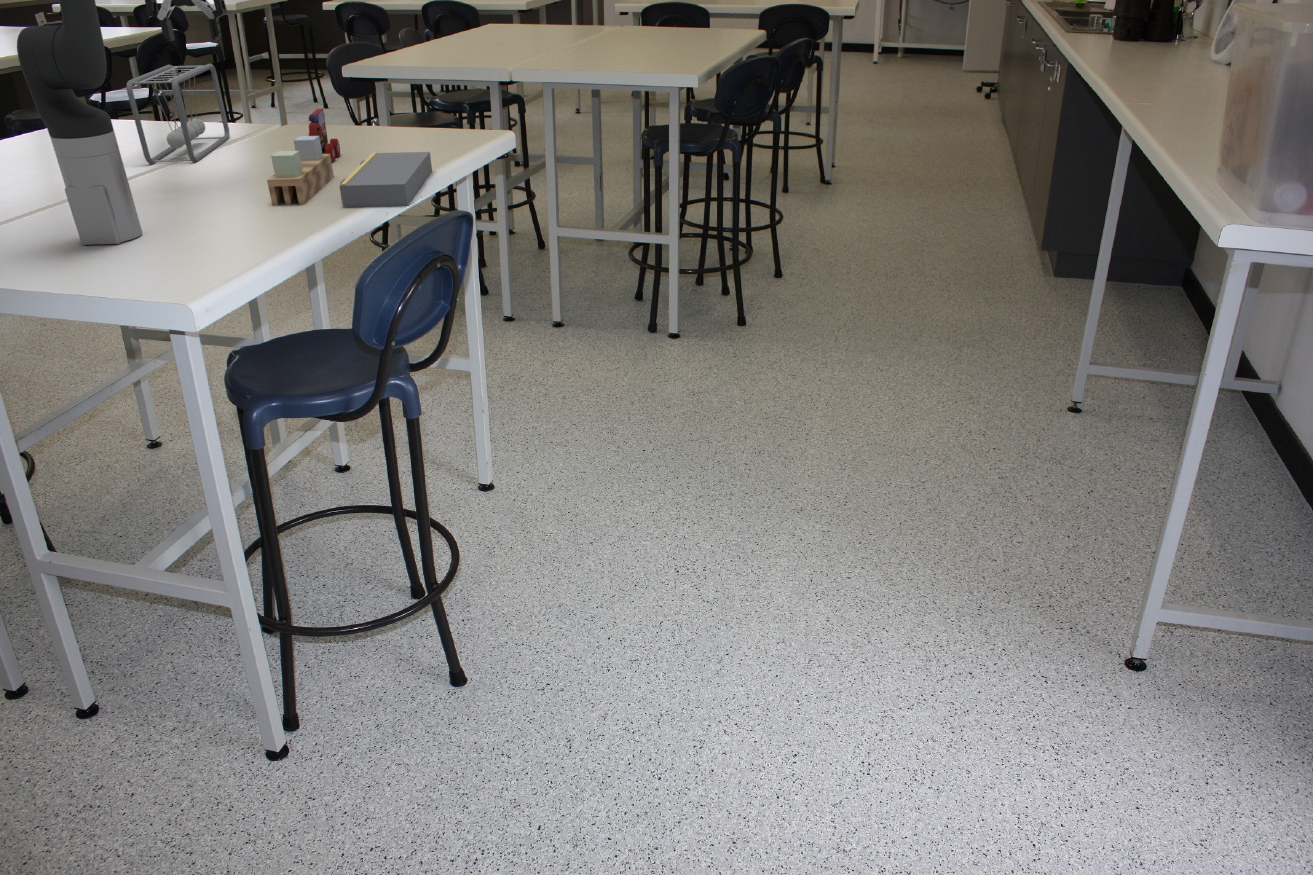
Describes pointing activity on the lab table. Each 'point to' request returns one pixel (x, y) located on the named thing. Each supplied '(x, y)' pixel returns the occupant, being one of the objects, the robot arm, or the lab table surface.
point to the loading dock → (386, 179)
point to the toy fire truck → (323, 134)
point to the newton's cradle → (179, 113)
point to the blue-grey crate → (308, 147)
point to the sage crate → (287, 164)
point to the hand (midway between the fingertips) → (193, 40)
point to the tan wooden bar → (302, 182)
